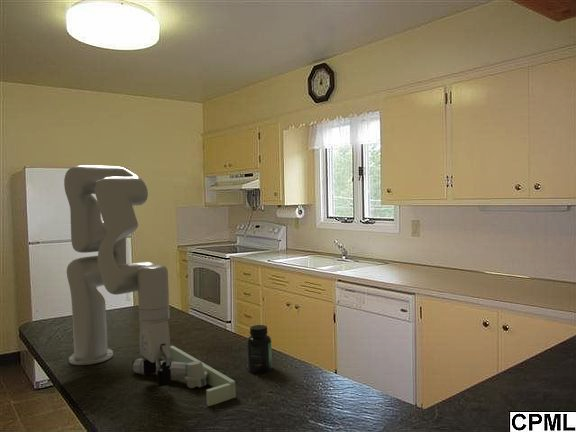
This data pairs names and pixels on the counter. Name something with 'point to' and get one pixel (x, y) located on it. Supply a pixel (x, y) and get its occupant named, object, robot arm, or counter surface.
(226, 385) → the bracket
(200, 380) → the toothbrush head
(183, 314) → the counter surface
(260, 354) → the supplement bottle
